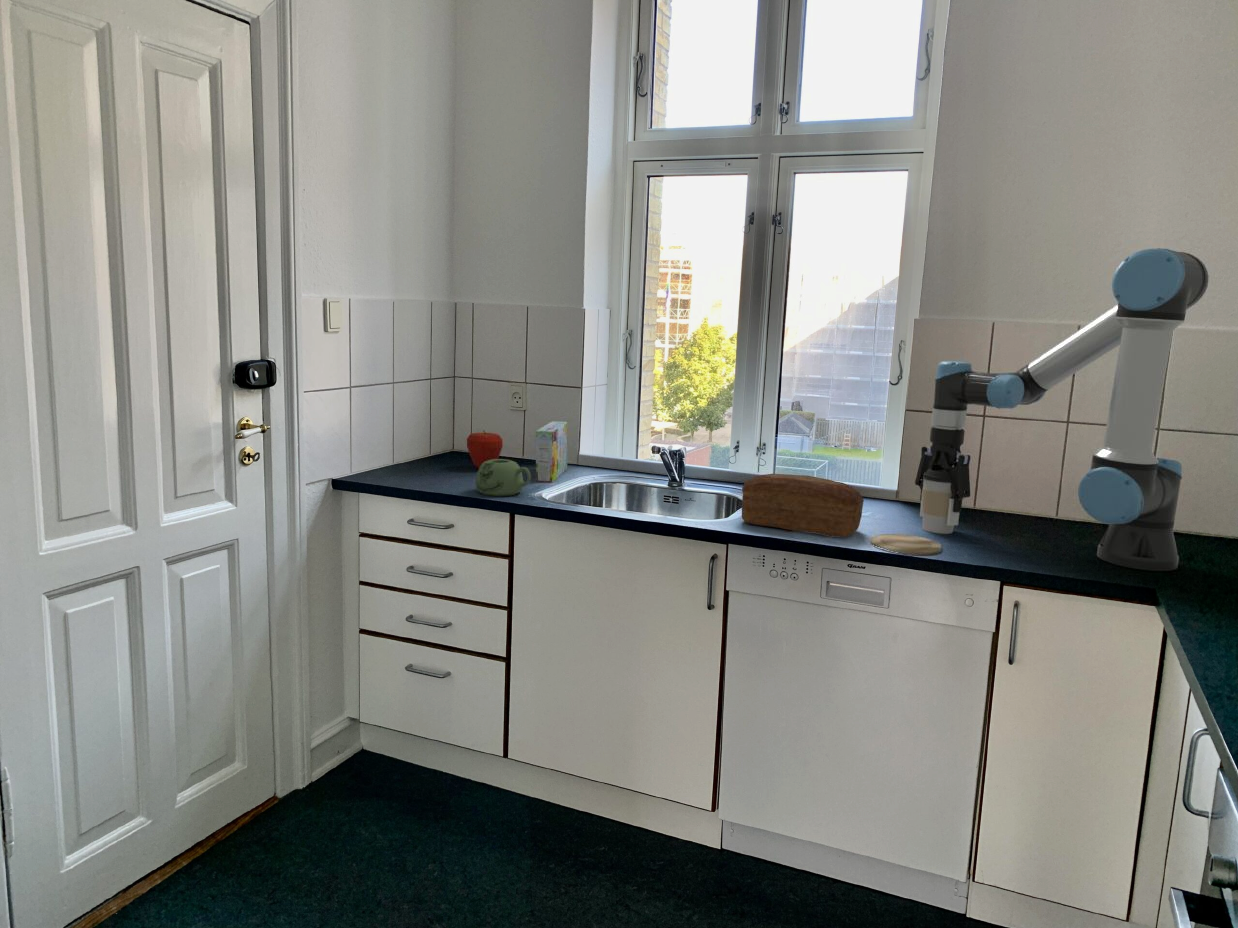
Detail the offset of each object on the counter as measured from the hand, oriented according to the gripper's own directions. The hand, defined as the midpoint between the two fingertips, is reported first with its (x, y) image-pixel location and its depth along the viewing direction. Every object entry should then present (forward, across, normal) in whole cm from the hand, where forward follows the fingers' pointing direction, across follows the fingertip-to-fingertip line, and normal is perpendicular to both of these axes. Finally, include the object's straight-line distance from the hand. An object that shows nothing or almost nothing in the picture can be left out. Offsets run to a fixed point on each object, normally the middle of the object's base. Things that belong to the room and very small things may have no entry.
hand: (938, 520), depth 212 cm
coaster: (+2, -10, +18) cm, 21 cm away
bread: (+3, +11, +32) cm, 34 cm away
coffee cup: (+3, 0, 0) cm, 3 cm away
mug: (+3, +64, +90) cm, 110 cm away
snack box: (+3, +85, +70) cm, 110 cm away
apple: (+3, +99, +87) cm, 132 cm away
